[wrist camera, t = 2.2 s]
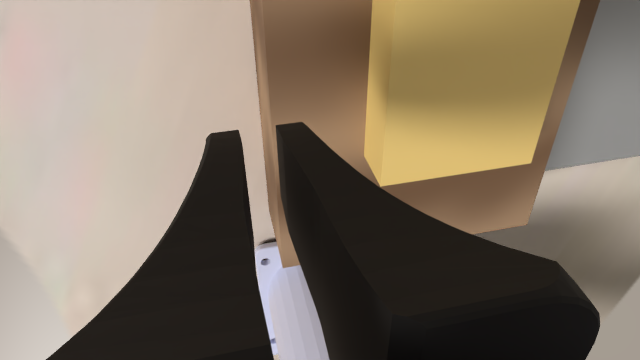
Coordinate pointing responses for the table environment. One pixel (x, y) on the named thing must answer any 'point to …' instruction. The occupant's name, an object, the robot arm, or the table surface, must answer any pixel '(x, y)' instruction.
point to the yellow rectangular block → (460, 84)
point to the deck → (351, 103)
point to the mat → (604, 92)
